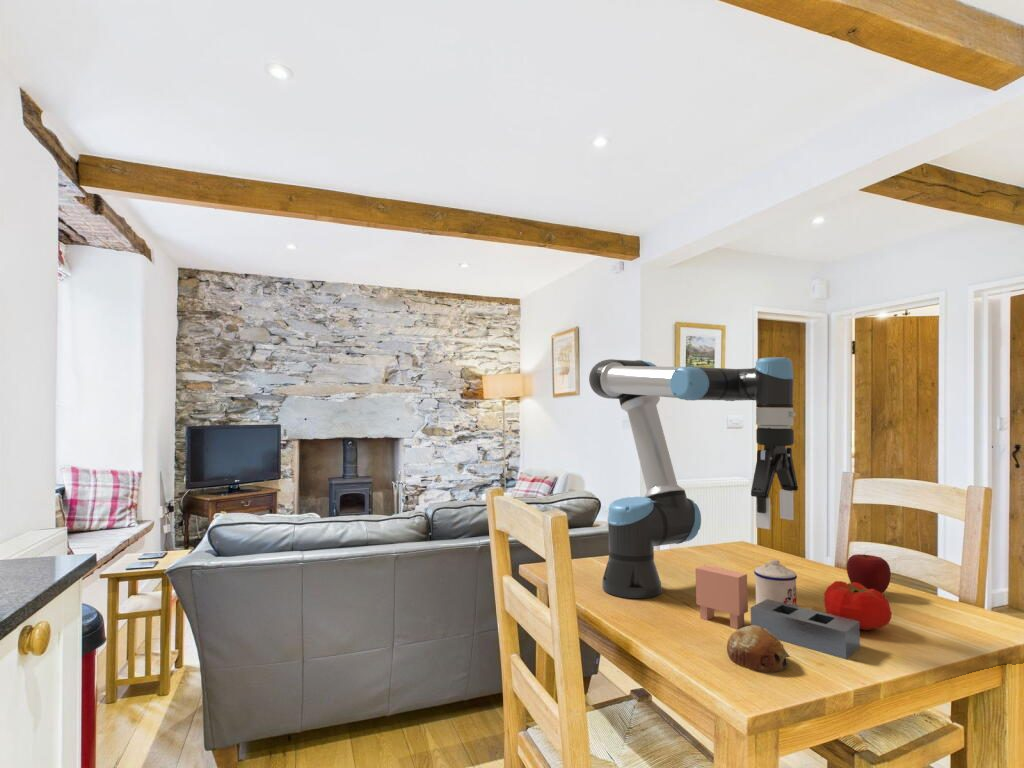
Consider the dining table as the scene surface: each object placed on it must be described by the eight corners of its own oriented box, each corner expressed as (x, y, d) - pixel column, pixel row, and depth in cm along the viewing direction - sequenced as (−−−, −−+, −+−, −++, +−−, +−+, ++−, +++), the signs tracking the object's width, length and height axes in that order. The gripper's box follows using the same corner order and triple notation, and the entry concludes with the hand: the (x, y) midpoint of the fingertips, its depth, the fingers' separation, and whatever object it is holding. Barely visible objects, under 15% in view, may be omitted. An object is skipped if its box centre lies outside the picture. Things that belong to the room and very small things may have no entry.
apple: (867, 586, 148) (866, 548, 148) (901, 598, 138) (899, 557, 139) (838, 590, 145) (837, 551, 146) (871, 601, 136) (869, 560, 137)
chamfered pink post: (696, 617, 126) (695, 568, 126) (705, 613, 128) (704, 565, 129) (739, 630, 118) (738, 577, 119) (748, 625, 121) (746, 574, 122)
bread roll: (761, 668, 109) (745, 625, 112) (805, 664, 101) (787, 617, 104) (726, 680, 104) (710, 634, 107) (769, 676, 96) (751, 626, 100)
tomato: (887, 644, 111) (885, 599, 111) (817, 629, 119) (815, 587, 119) (896, 624, 121) (895, 583, 122) (831, 611, 129) (829, 573, 130)
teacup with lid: (792, 620, 124) (790, 567, 124) (749, 611, 129) (748, 560, 130) (805, 606, 133) (803, 556, 134) (765, 598, 139) (763, 551, 139)
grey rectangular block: (751, 631, 118) (750, 607, 118) (767, 622, 123) (766, 599, 123) (846, 659, 104) (845, 631, 104) (860, 647, 110) (859, 621, 110)
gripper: (770, 429, 112) (771, 535, 112) (811, 426, 130) (812, 518, 129) (733, 428, 118) (734, 529, 117) (778, 425, 135) (779, 513, 135)
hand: (775, 523), depth 123 cm, fingers open, 13 cm apart
